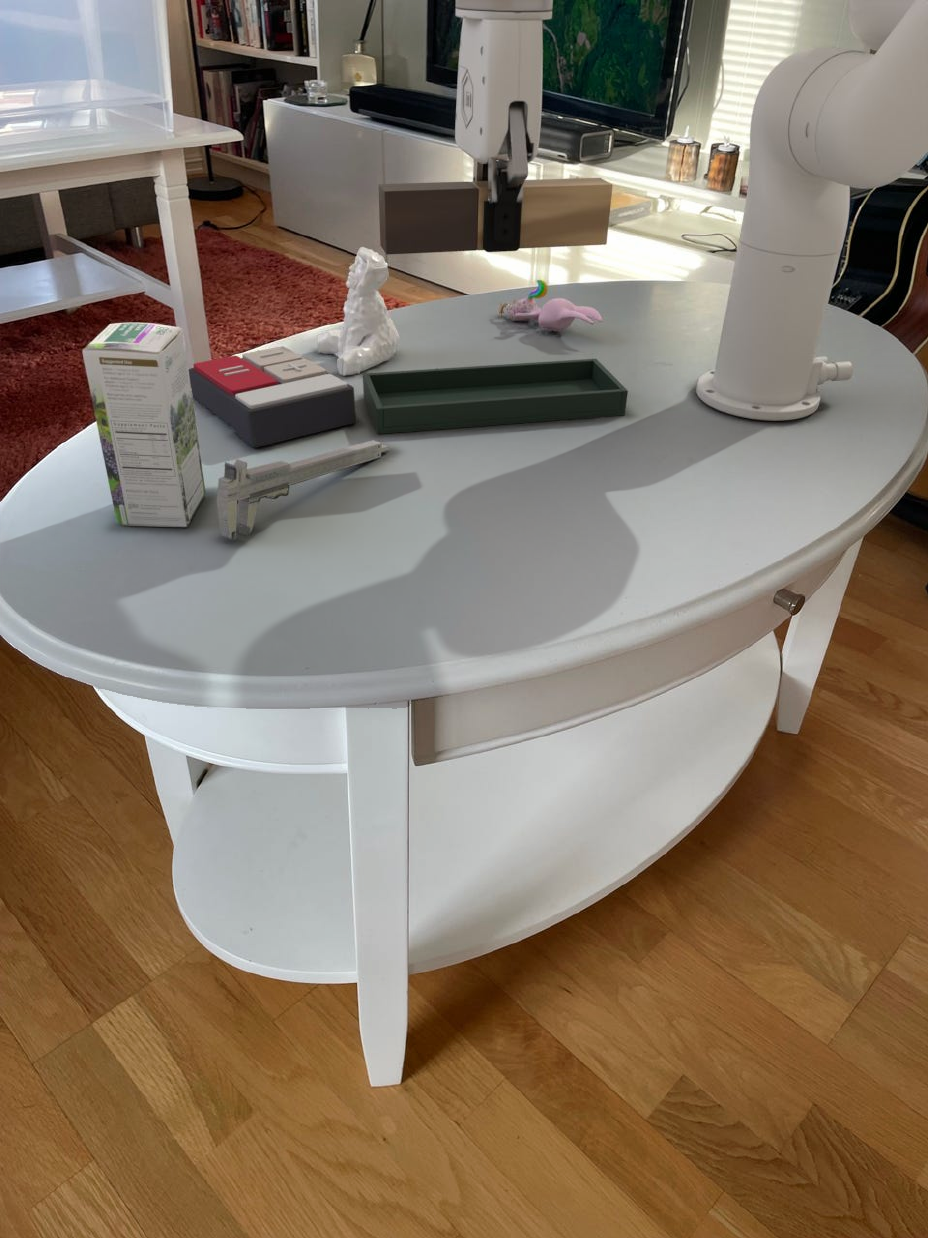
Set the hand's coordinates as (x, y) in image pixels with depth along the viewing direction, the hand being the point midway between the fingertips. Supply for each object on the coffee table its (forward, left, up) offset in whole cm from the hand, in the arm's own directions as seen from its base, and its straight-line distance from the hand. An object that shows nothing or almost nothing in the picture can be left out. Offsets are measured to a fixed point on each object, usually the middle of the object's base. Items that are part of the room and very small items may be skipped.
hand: (495, 242), depth 82 cm
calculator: (+21, -6, -17) cm, 27 cm away
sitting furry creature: (+10, -19, -17) cm, 28 cm away
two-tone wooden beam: (0, 0, 0) cm, 0 cm away
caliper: (+18, +12, -17) cm, 28 cm away
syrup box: (+31, +13, -17) cm, 37 cm away
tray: (-1, -3, -17) cm, 17 cm away
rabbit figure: (-14, -25, -17) cm, 34 cm away
